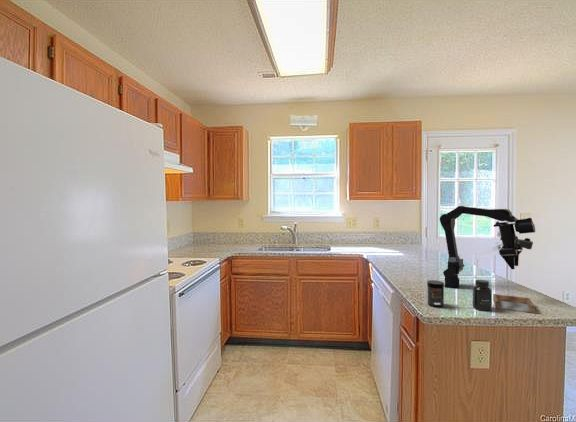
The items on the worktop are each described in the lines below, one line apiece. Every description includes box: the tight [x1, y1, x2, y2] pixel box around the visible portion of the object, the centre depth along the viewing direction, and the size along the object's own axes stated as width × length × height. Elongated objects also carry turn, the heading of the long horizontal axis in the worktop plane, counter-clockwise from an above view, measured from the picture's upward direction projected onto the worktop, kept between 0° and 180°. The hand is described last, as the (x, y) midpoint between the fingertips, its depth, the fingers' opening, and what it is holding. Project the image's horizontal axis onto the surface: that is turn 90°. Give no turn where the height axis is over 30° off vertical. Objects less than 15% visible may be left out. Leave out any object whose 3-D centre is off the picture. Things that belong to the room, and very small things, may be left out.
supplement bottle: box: [472, 279, 493, 312], centre depth 125 cm, size 7×7×12 cm
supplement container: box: [426, 279, 445, 308], centre depth 131 cm, size 7×7×10 cm
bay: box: [492, 293, 536, 315], centre depth 127 cm, size 13×12×3 cm
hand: (514, 267), depth 139 cm, fingers open, 9 cm apart
